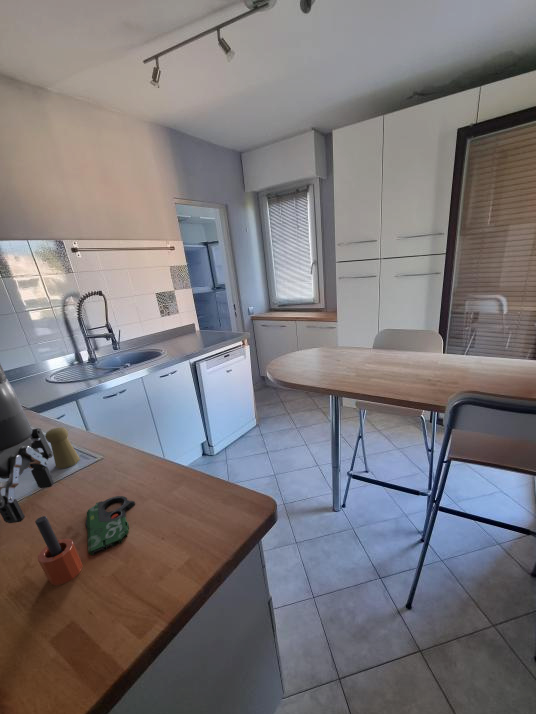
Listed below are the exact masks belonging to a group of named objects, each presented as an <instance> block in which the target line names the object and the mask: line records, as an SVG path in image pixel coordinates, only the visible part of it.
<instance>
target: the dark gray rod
mask: <svg viewBox="0 0 536 714" xmlns="http://www.w3.org/2000/svg"><path fill="white" fill-rule="evenodd" d="M34 523H35V524H36V525H35V526H36V527H37V529H38V531H39V533H40V535H41V537H42V539H43V541H44V543H45V545H46V546H47V547H48V549H49V551H50V553H51V555H52V557H55V556H57V555H59V554H60V553H62V552H63V551H62V549H61V546H60V544H59V542H58V540H59V539H58V538H57V536H56V534H55V531H54V530H53V527H52V525H51V523H50V521H49V519H48V517H47V516H46V515H42V516H39V517H38V518H37V519H36V520H35V522H34Z"/></svg>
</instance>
